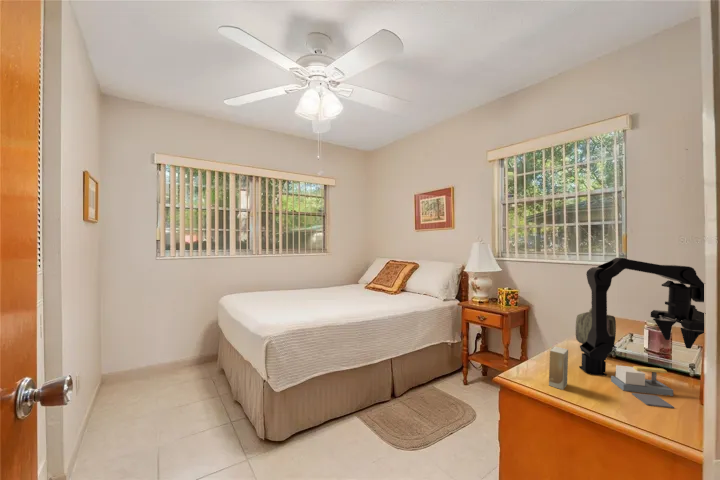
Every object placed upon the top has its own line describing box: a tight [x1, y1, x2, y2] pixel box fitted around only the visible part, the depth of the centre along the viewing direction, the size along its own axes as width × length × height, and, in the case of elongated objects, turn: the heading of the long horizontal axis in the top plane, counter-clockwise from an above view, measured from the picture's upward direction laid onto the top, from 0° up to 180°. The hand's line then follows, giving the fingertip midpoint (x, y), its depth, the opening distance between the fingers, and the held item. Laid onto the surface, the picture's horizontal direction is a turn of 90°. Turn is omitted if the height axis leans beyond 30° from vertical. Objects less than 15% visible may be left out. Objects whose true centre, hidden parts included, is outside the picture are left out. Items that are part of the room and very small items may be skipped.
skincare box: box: [548, 346, 569, 390], centre depth 105 cm, size 6×4×12 cm
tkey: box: [633, 365, 668, 384], centre depth 104 cm, size 8×2×5 cm, turn 78°
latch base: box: [610, 375, 674, 397], centre depth 105 cm, size 14×7×2 cm, turn 78°
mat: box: [631, 392, 675, 409], centre depth 96 cm, size 7×7×1 cm
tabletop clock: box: [575, 301, 617, 345], centre depth 138 cm, size 14×9×25 cm, turn 114°
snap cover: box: [615, 365, 646, 386], centre depth 105 cm, size 6×6×4 cm
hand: (677, 343), depth 110 cm, fingers open, 9 cm apart
